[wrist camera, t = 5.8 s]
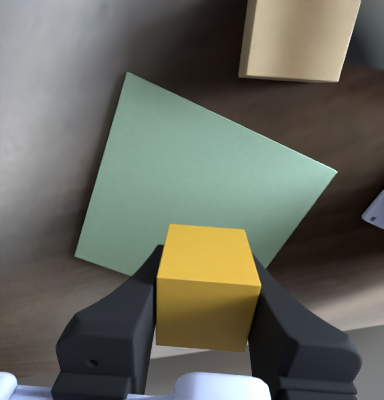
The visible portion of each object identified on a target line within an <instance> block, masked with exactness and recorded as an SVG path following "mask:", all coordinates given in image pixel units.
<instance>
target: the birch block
mask: <svg viewBox="0 0 384 400" xmlns="http://www.w3.org/2000/svg"><path fill="white" fill-rule="evenodd" d="M360 3H361V0H248V4H247V11H246V19H245V27H244V34H243V42H242V50H241V57H240V65H239V73H238V77H239V78H253V79H267V80H281V81H295V82H309V83H321V82H338V80H339V76H340V73H341V69H342V66H343V62H344V59H345V55H346V52H347V48H348V45H349V42H350V38H351V35H352V31H353V28H354V24H355V21H356V17H357V14H358V10H359V7H360Z"/></svg>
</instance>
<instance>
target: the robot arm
mask: <svg viewBox="0 0 384 400" xmlns="http://www.w3.org/2000/svg"><path fill="white" fill-rule="evenodd" d="M372 217H373V219H371V218H372ZM362 219H363V220H365V221H366V222H369V223H371V224H373V225H375V226H378V227H380V228H382V229H384V190H383V191H382V192H381V193H380V194H379V195H378V197H377V198H376V199H375V200H374V201H373V202H372V204H371V205H370V206H369V207H368V208H367V209H366V211H365V212H364V213H363V214H362ZM163 248H164V245H160V244H158V245H157V246H156V248H155V249H154V251H153V252H152V253H151V255H150V256H149V257H148V259H147V260H146V261H145V262H144V263H143V265H142V266H141V267H140V268H139V269H138V270H137V271H136V272H135V273H134V274H133V275H132V276H131V277H130V278H129V279H128V280H127V281H126V282H125V283H123V284H122V285H121V286H120V287H118V288H117V289H116V290H115V291H113V292H112V293H111V294H109V295H108V296H106V297H105V298H103V299H101V300H100V301H98V302H97V303H95V304H93V305H91V306H89V307H87V308H85V309H83V310H81V311H80V312H77V313H76V314H75V315H74V316H73V318H72V319H71V320H70V322H69V323H68V325H67V326H66V328H65V329H64V331H63V333H62V335H61V336H60V338H59V340H58V342H57V344H56V354H57V358H58V362H59V365H60V369H61V371H60V373H59V375H58V377H57V379H56V381H55V384H54V386H53V387H52V388H50V387H37V386H25V385H17V380H16V378H15V376H14V375H12V374H11V373H7V372H0V400H357V398H356V397H355V395H356V394H357V390H356V388H355V386H354V384H353V380H354V379H355V377H356V375H357V374H358V372H359V370H360V368H361V365H362V357H361V356H360V354H359V352H358V350H357V348H356V347H355V345H354V343H353V342H352V340H351V339H350V337H349V336H348V334H346V333H344V332H342V331H341V330H339V329H337V328H335V327H334V326H332V325H330V324H329V323H327V322H325V321H324V320H322V319H321V318H319V317H318V316H316V315H315V314H313V313H312V312H311V311H309V310H308V309H307V308H305V307H304V306H303V305H301V304H300V303H299V302H298V301H296V300H295V299H294V298H293V297H292V296H291V295H290V294H288V293H287V292H286V291H285V290H284V289H283V288H282V287H281V286H280V285H279V284H278V283H277V282H276V281H275V280H274V278H273V277H272V276H271V275H270V274H269V273H268V272H267V270H266V269H265V268H264V267H263V265H262V264H261V263H260V262H259V260H258V259H257V258H256V256H255V255H254V254H253V253H252V252H251V253H252V256H253V260H254V263H255V267H256V270H257V273H258V277H259V280H260V283H261V288H260V292H259V296H258V300H257V304H256V308H255V312H254V316H253V320H252V324H251V328H250V332H249V336H248V344H249V351H250V360H251V369H252V377H250V376H241V375H229V374H216V373H204V372H193V373H187V374H185V375H183V376H181V377H179V378H178V380H177V382H176V384H175V388H174V394H168V395H160V396H150V395H144V393H145V386H146V379H147V373H148V366H149V360H150V354H151V348H152V342H153V336H154V330H155V325H156V277H157V273H158V269H159V264H160V260H161V256H162V252H163Z"/></svg>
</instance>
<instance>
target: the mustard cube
mask: <svg viewBox="0 0 384 400" xmlns="http://www.w3.org/2000/svg"><path fill="white" fill-rule="evenodd" d="M260 288H261V283H260V280H259V277H258V273H257V270H256V267H255V263H254V260H253V256H252V253H251V250H250V246H249V243H248V240H247V236H246V233H245V230H244V229H231V228H218V227H205V226H192V225H180V224H169V227H168V231H167V235H166V239H165V243H164V248H163V252H162V256H161V260H160V264H159V269H158V273H157V277H156V345H161V346H173V347H186V348H198V349H211V350H223V351H236V352H245V348H246V344H247V340H248V336H249V332H250V328H251V324H252V320H253V316H254V312H255V308H256V304H257V300H258V296H259V292H260Z"/></svg>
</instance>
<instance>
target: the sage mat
mask: <svg viewBox="0 0 384 400" xmlns="http://www.w3.org/2000/svg"><path fill="white" fill-rule="evenodd" d="M336 173H337V171H336V170H334V169H332V168H329V167H327V166H325V165H323V164H321V163H319V162H317V161H315V160H313V159H311V158H308V157H306V156H304V155H302V154H300V153H298V152H296V151H294V150H292V149H289V148H287V147H285V146H283V145H281V144H279V143H277V142H275V141H273V140H271V139H268V138H266V137H264V136H262V135H260V134H258V133H256V132H254V131H252V130H250V129H247V128H245V127H243V126H241V125H239V124H237V123H235V122H233V121H231V120H229V119H226V118H224V117H222V116H220V115H218V114H216V113H214V112H212V111H210V110H208V109H205V108H203V107H201V106H199V105H197V104H195V103H193V102H191V101H189V100H187V99H184V98H182V97H180V96H178V95H176V94H174V93H172V92H170V91H168V90H165V89H163V88H161V87H159V86H157V85H155V84H153V83H151V82H149V81H147V80H144V79H142V78H140V77H138V76H136V75H134V74H132V73H130V72H127V74H126V77H125V81H124V84H123V88H122V91H121V95H120V98H119V102H118V105H117V109H116V112H115V116H114V119H113V123H112V126H111V130H110V133H109V137H108V140H107V144H106V147H105V151H104V154H103V158H102V161H101V165H100V168H99V172H98V175H97V179H96V182H95V186H94V189H93V193H92V196H91V200H90V203H89V207H88V210H87V214H86V217H85V221H84V224H83V228H82V231H81V235H80V238H79V242H78V245H77V249H76V252H75V257H78V258H81V259H83V260H86V261H89V262H92V263H95V264H98V265H100V266H103V267H106V268H109V269H112V270H115V271H117V272H120V273H123V274H126V275H129V276H132V275H133V274H134V273H135V272H136V271H137V270H138V269H139V268H140V267H141V266H142V265H143V263H144V262H145V261H146V260H147V259H148V257H149V256H150V255H151V253H152V252H153V251H154V249H155V248H156V246H157V245H158V244H160V245H164V243H165V239H166V235H167V231H168V227H169V224H180V225H192V226H205V227H218V228H231V229H244V230H245V233H246V236H247V240H248V243H249V246H250V250H251V252H252V253H253V254H254V255H255V256H256V258H257V259H258V260H259V262H260V263H261V264H262V265H263V267H264V268H265V269H266V268H267V266H268V265H269V264H270V262H271V261H272V259H273V258H274V257H275V255H276V254H277V253H278V251H279V250H280V249H281V247H282V246H283V245H284V243H285V242H286V241H287V239H288V238H289V236H290V235H291V234H292V232H293V231H294V230H295V228H296V227H297V226H298V224H299V223H300V222H301V220H302V219H303V218H304V216H305V215H306V213H307V212H308V211H309V209H310V208H311V207H312V205H313V204H314V203H315V201H316V200H317V199H318V197H319V196H320V195H321V193H322V192H323V190H324V189H325V188H326V186H327V185H328V184H329V182H330V181H331V180H332V178H333V177H334V176H335V174H336Z"/></svg>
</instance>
